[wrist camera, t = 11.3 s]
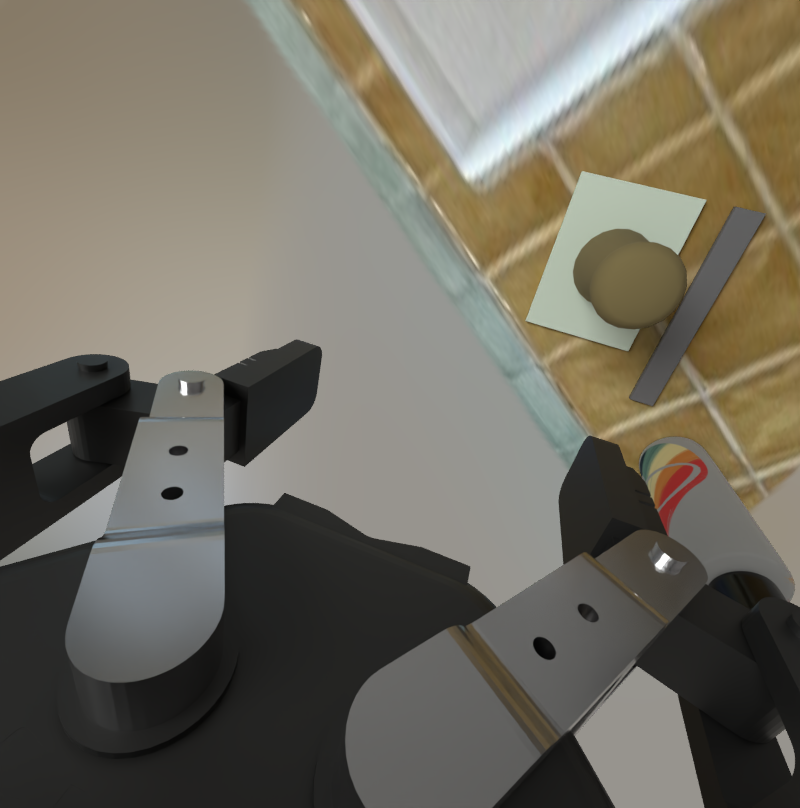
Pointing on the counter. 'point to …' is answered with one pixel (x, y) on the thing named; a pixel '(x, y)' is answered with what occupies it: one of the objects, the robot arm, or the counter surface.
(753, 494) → the counter surface
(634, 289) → the cork
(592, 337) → the mat
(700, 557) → the lotion bottle
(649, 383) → the charcoal line
